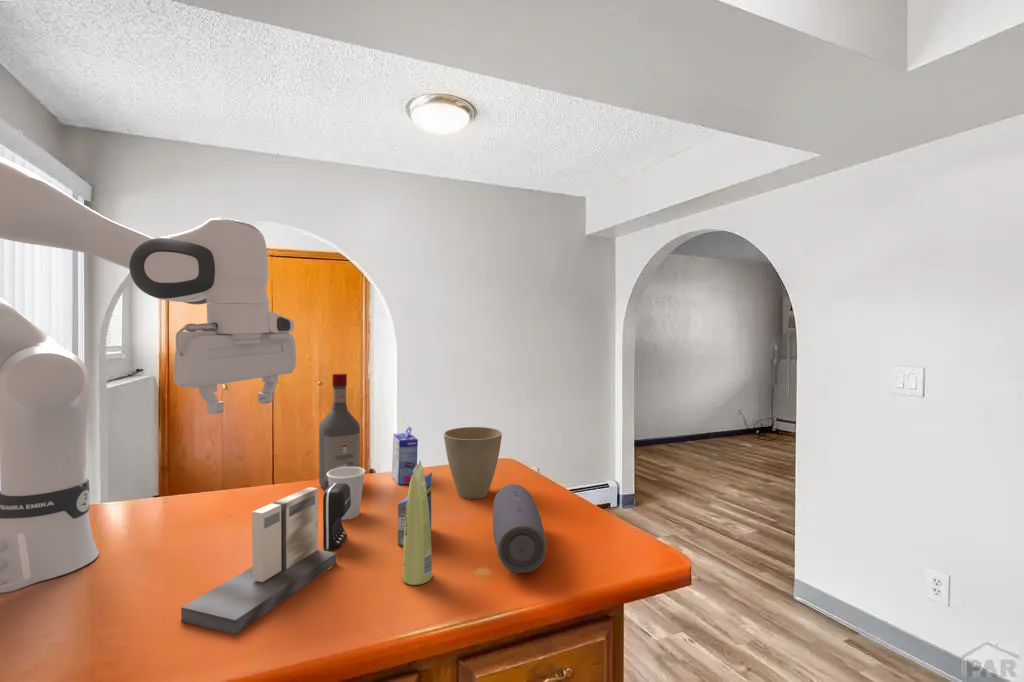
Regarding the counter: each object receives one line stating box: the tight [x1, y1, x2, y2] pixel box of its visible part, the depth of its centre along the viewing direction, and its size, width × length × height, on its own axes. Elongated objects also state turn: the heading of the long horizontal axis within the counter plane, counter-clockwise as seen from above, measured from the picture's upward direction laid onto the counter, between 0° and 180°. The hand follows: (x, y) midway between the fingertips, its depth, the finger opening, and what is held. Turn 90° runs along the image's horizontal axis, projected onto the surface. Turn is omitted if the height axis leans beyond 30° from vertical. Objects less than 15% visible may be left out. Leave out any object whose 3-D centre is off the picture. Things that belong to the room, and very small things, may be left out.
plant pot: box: [443, 426, 503, 500], centre depth 129 cm, size 15×15×16 cm
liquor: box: [318, 373, 361, 492], centre depth 134 cm, size 9×9×30 cm
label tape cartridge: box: [397, 472, 433, 547], centre depth 102 cm, size 9×4×12 cm, turn 168°
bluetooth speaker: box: [492, 483, 547, 574], centre depth 97 cm, size 23×9×10 cm, turn 4°
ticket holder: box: [180, 486, 337, 635], centre depth 82 cm, size 22×10×13 cm, turn 162°
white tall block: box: [251, 502, 281, 582], centre depth 82 cm, size 4×2×11 cm, turn 162°
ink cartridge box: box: [391, 426, 419, 485], centre depth 141 cm, size 10×6×14 cm, turn 23°
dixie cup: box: [327, 467, 366, 521], centre depth 114 cm, size 8×8×10 cm
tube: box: [402, 459, 433, 586], centre depth 86 cm, size 6×5×20 cm
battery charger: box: [322, 483, 351, 551], centre depth 99 cm, size 7×4×11 cm, turn 3°
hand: (241, 408), depth 82 cm, fingers open, 8 cm apart
